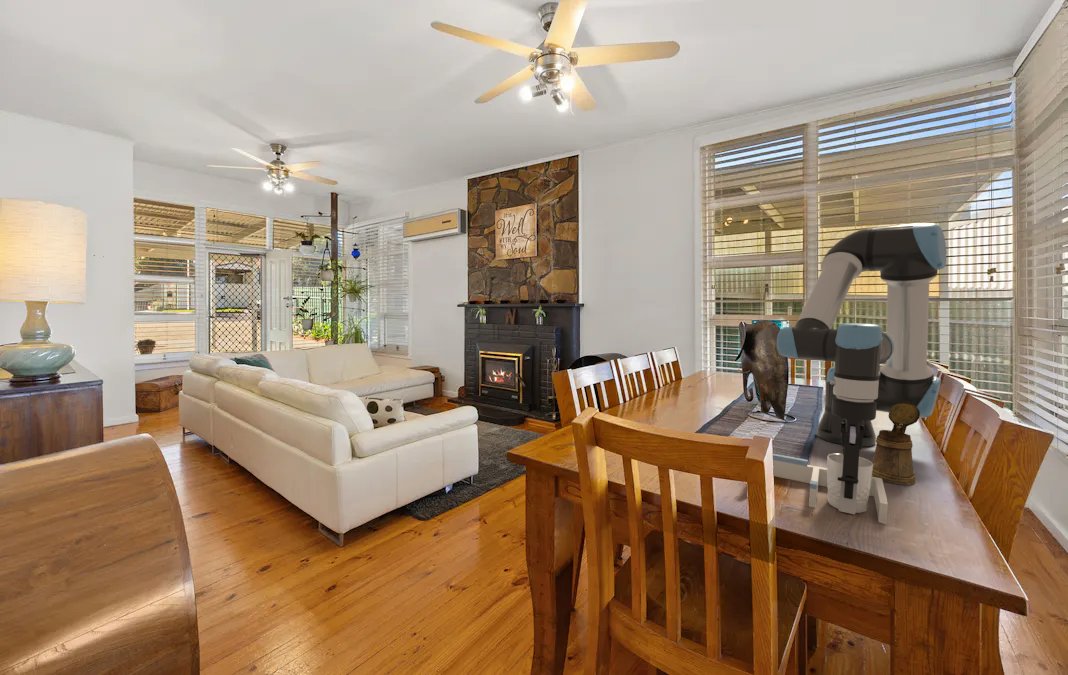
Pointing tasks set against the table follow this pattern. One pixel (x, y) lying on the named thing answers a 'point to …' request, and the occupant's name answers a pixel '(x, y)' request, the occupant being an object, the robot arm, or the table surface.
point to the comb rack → (824, 481)
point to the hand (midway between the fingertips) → (846, 504)
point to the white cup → (863, 476)
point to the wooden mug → (896, 447)
